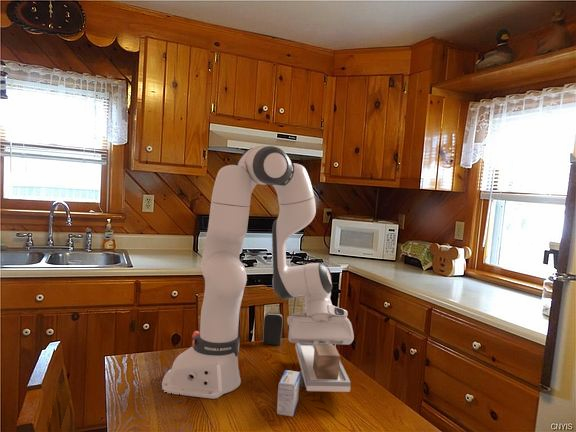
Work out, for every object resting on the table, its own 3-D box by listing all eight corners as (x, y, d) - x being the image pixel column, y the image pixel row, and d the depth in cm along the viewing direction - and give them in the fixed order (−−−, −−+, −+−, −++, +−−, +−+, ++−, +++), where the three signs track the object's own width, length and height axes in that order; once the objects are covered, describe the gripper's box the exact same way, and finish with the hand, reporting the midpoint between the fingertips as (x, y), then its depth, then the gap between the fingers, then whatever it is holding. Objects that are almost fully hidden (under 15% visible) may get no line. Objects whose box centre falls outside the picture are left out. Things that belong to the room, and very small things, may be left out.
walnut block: (316, 379, 113) (318, 355, 113) (313, 367, 120) (314, 344, 119) (337, 379, 114) (339, 355, 113) (332, 367, 121) (334, 345, 120)
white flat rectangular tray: (306, 391, 109) (307, 381, 109) (295, 347, 137) (295, 339, 137) (349, 391, 110) (350, 382, 110) (330, 348, 138) (330, 341, 138)
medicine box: (293, 417, 104) (295, 385, 103) (276, 414, 105) (278, 382, 104) (298, 401, 112) (300, 371, 111) (282, 398, 112) (284, 369, 112)
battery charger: (281, 341, 153) (283, 312, 152) (281, 345, 149) (283, 315, 148) (262, 340, 152) (264, 310, 151) (262, 344, 149) (264, 314, 148)
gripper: (288, 308, 126) (289, 352, 117) (352, 310, 128) (357, 353, 119) (285, 317, 131) (286, 359, 122) (347, 319, 133) (352, 361, 124)
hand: (322, 356), depth 121 cm, fingers closed
